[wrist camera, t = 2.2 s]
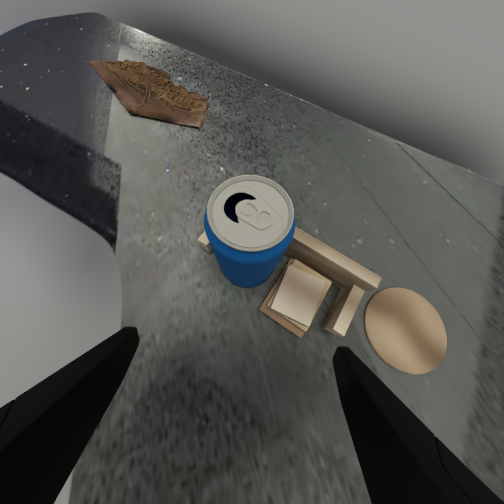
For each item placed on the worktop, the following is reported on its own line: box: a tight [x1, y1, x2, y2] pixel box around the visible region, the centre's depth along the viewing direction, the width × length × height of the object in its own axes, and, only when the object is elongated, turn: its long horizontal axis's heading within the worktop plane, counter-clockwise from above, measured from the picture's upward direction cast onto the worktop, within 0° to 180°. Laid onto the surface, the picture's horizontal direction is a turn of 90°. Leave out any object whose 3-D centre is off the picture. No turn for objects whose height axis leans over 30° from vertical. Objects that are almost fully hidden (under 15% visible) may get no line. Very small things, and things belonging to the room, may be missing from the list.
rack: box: [198, 227, 381, 336], centre depth 21 cm, size 6×18×5 cm, turn 56°
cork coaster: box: [364, 288, 447, 374], centre depth 22 cm, size 9×9×1 cm
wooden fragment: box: [90, 60, 209, 129], centre depth 33 cm, size 26×11×1 cm, turn 51°
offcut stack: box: [259, 258, 332, 338], centre depth 21 cm, size 7×5×4 cm
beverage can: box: [204, 175, 295, 287], centre depth 18 cm, size 6×6×12 cm
